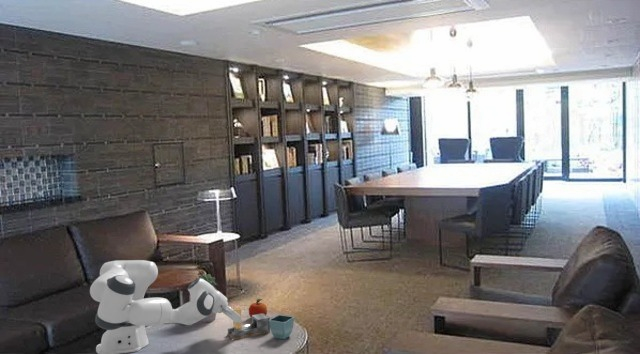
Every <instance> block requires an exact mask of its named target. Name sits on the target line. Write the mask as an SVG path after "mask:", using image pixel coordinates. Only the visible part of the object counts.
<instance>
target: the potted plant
mask: <svg viewBox="0 0 640 354" xmlns="http://www.w3.org/2000/svg"><path fill="white" fill-rule="evenodd" d="M197 276H198V277H196V278H195V280H196V279H198V278H201V279H204V280H205V281H207V282H208V283H210V284H211V285H212V286H213V287H214V288H215V290H217V291H219V292H220V293H222V292H221V291H220V290H219V289H217V288H216V287H217V286H218V287H219V284H218V283H217V281H216V278H215V277H213V276H212V275H211V273H209V274H206V273H205V271H204V270H202V269H199V270H198V273H197ZM191 283H192V282H191ZM191 283H189V285H190V284H191ZM188 297H189V301H191V295H190V294H189V295H188ZM216 317H217V313H213V312H212V313H211V314H210V315H208V316H207V317H205V318H203V319H201V320H200V321H198V322H197V323H211V322H213V321H215V320H216Z"/></svg>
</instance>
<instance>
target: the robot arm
mask: <svg viewBox="0 0 640 354" xmlns="http://www.w3.org/2000/svg"><path fill="white" fill-rule="evenodd" d="M100 267H101V268H100V270H99V276H98V277H97V278H96V279H95V280H94V281H93V282H92V284H91V285H90V289H89V294H90V296H91V298H92V299H93V300H94V301H95V302H98V303H99V305H98V308H97V312H96V314H95V324H96V325H97V326H98V327H99V328H100V329H103V330H106V331H105V332H104V333H103V334H102V336H101V340H100V343H99V344H97V345H96V347H95V352H96V354H127V353H134V352H135V353H136V352H138V351H140V350H141V349H143V348H144V347H147V346H148V345H149V344H150V342H149V339H148V336H147V330H146V327H149V326H159V325H178V326H181V327H184V328H190V327H191V326H193V325H194V324H196V323H199V322H198V321H200V320H201V319H203V318H205V317H207V316H208V315H210V314H211V313H212V312H213V313H216V314H222V313H223V315H225V316H226V317H227V318H229V319H230V320H231V321H232V322H233V321H234V322H236V323H237V322H238V323H241V321H243V320H242V315H241V316H240V315H239V314H238V313H236V312H235V311H234V310H233V308H231V307H230V306H229V305H228V304H229V303H228V298H227V297H226V296H225V295H224V294H223V293H222V292H220V290H219V291H218V289H217V290H215V288H216V287H215V288H214V287H213V286H212V285H211V284H210V283H208V282H207V281H205V280H204V279H201V278H198V277H197V278H198V279H196V278H195V279H194V280H192V282H191V284H190V283H189V284H188V287H187V291H188V292H189V295H191V301H190V300H189V301H187V302H186V303H183V304H181V305H179V306H178V307H177V308H173V307H172V303H171V301H170V300H168V299H167V298H164V297H146V298H144V296H145V294H146V292H147V290H148V287H150V286H151V284H153V283H154V282H155V281H156V280H157V278H158V276H159V275H158V274H159V270H158V269H159V268H158V266H157V265H156V262H154V261H150V260H146V259H143V260H142V259H135V260H134V259H133V260H132V259H131V260H129V259H128V260H125V259H124V260H123V259H122V260H112V261H107V262H104V263H103V264H102V266H100ZM240 318H241V319H240Z"/></svg>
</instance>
